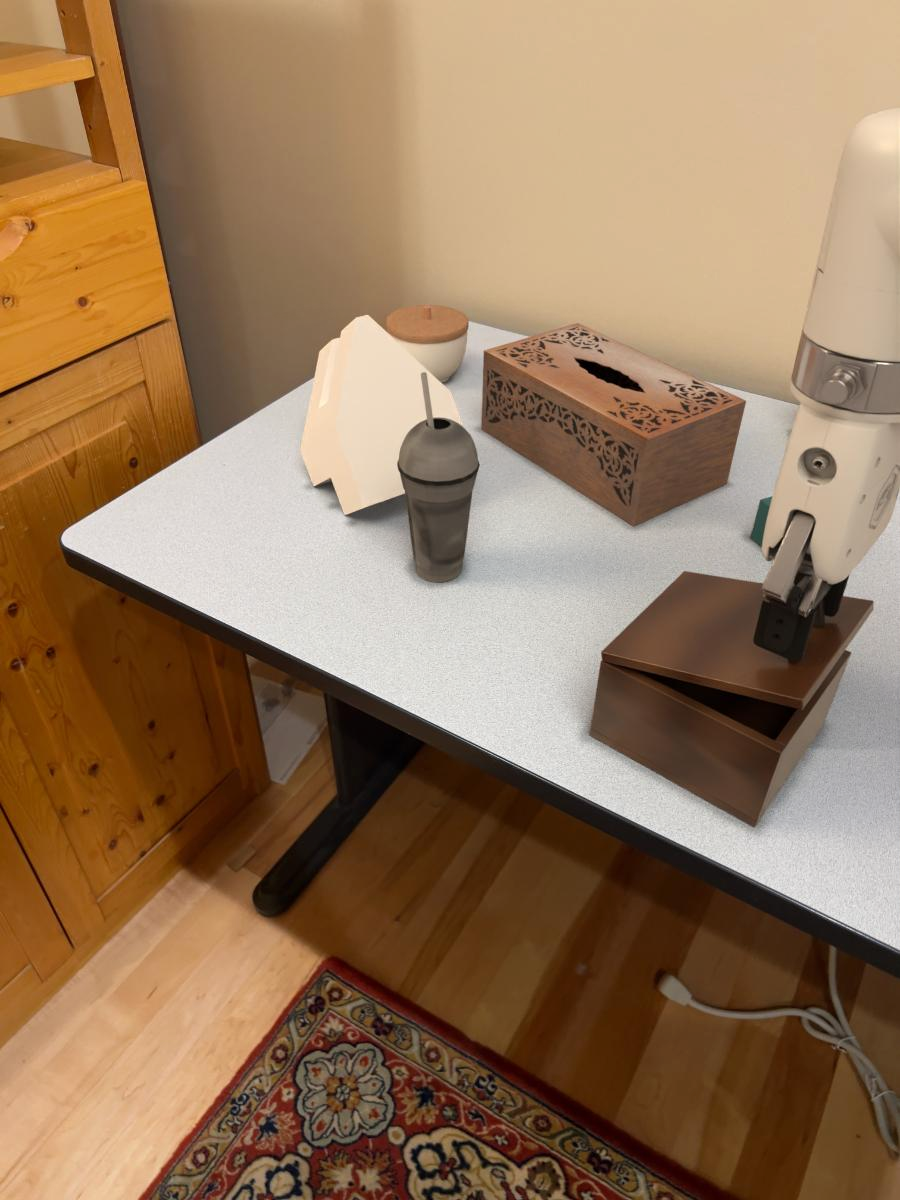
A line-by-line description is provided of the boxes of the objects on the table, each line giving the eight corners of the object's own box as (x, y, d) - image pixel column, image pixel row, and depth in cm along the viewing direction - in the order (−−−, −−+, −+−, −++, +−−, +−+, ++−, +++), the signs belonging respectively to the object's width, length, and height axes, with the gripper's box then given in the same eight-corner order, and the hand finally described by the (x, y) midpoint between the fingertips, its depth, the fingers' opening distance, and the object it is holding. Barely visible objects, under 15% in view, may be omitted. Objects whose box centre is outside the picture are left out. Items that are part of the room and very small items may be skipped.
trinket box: (371, 377, 118) (367, 308, 112) (424, 352, 125) (423, 286, 119) (431, 400, 113) (431, 329, 107) (483, 374, 119) (485, 305, 113)
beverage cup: (476, 592, 82) (482, 393, 69) (398, 591, 82) (390, 392, 70) (476, 547, 88) (482, 355, 75) (403, 545, 88) (396, 354, 75)
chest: (823, 725, 69) (852, 652, 64) (754, 828, 62) (781, 753, 57) (668, 651, 76) (683, 579, 71) (588, 735, 68) (600, 661, 63)
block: (817, 550, 88) (830, 511, 85) (781, 562, 86) (793, 523, 83) (784, 527, 91) (796, 488, 88) (749, 538, 89) (760, 499, 86)
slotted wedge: (431, 485, 103) (378, 336, 101) (477, 467, 93) (419, 302, 91) (326, 522, 97) (268, 364, 95) (364, 507, 87) (299, 330, 85)
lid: (873, 610, 61) (874, 546, 59) (802, 710, 54) (800, 642, 52) (685, 579, 71) (679, 523, 69) (601, 661, 63) (592, 601, 61)
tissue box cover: (726, 484, 97) (746, 400, 91) (633, 526, 91) (647, 439, 84) (570, 398, 114) (577, 322, 107) (481, 429, 107) (483, 350, 101)
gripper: (884, 447, 41) (799, 726, 52) (984, 337, 51) (895, 589, 62) (733, 405, 45) (683, 673, 56) (854, 311, 55) (792, 553, 66)
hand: (796, 626), depth 59 cm, fingers closed on lid, 5 cm apart
